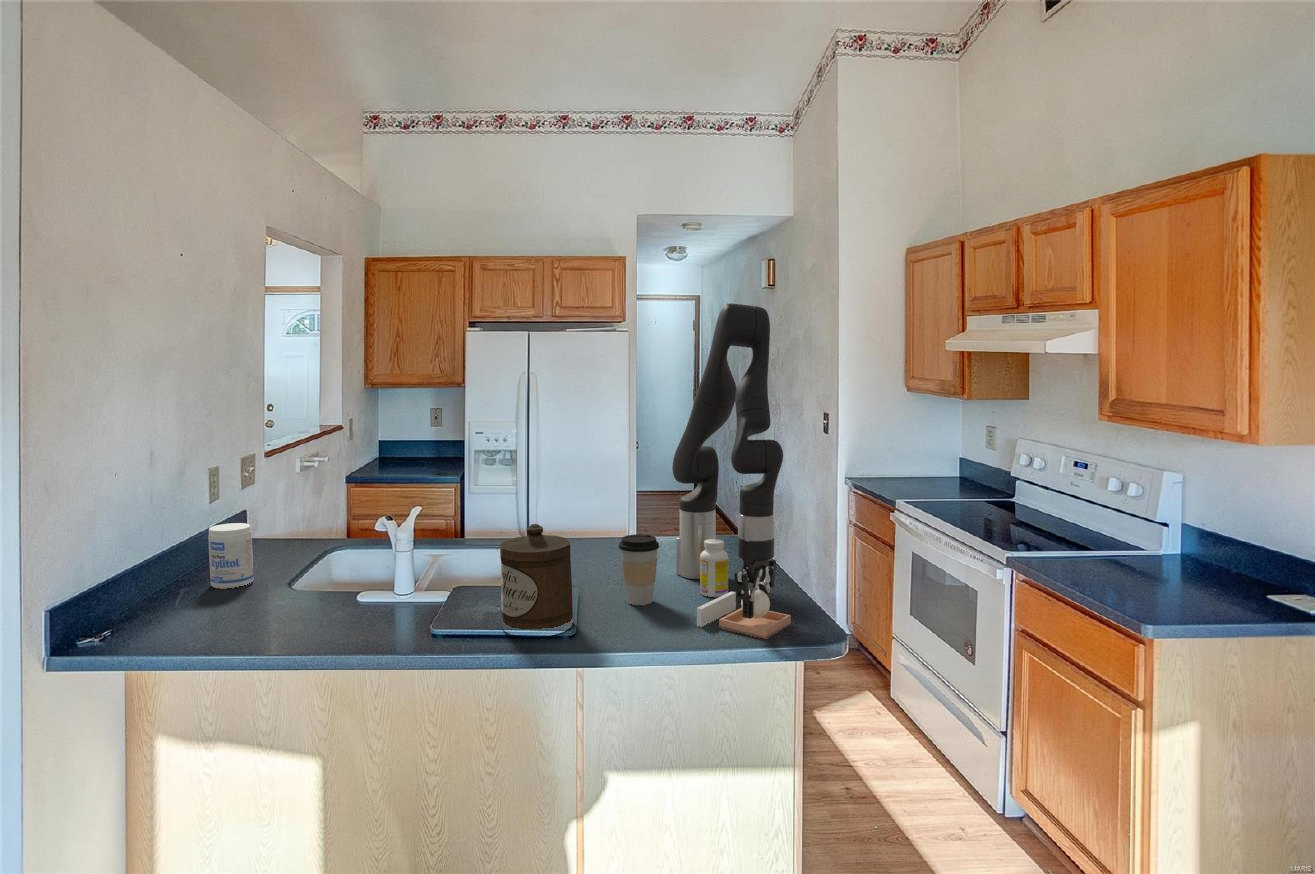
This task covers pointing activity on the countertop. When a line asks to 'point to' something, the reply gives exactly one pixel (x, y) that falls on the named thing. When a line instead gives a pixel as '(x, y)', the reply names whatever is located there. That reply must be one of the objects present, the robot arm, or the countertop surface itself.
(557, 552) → the wooden container
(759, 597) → the ball
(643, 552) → the coffee cup
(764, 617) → the dish
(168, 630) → the countertop surface
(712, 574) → the supplement bottle
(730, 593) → the wall
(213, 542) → the supplement tub
